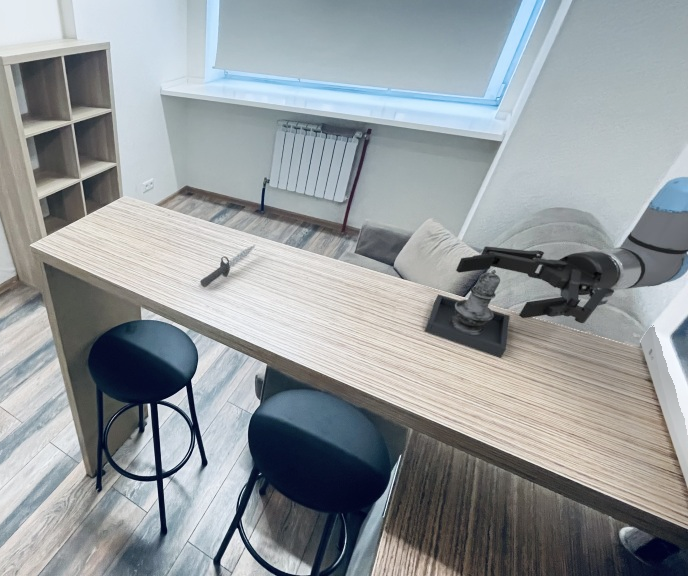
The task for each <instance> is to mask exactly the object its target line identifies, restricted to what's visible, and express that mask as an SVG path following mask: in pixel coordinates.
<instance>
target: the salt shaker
mask: <svg viewBox="0 0 688 576" xmlns="http://www.w3.org/2000/svg"><path fill="white" fill-rule="evenodd" d="M500 283H501V278H500V276H499V275H498V274H497V272H496V269H492V270H491V272H483V273H481V274H480V275H479V278H478V280H477V281H476V283H475V286H471V288H470V292H471V293H470V294H469V296H468V298H467V299H460V300H459V301H458V302H456V303H455V314H456V316H453V317H451V318H450V324H451V325H452V326H453V327H454V328H455V329H457V330H459V331H462V332H466V333H469V334H472V335H478V334H481V333H482V332H483V326H482V325H484V324H485V323H487V322H488V321H489V320H491V319H492V318H493V317H494V314H493V312H492V311H493V310H492V309H491V308H489V305H490V303H491V301H492V300H493V299H495V298H496V293H495V292H496V290H497V288H498V287H499V285H500ZM491 310H492V311H491Z"/></svg>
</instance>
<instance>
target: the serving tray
mask: <svg viewBox="0 0 688 576" xmlns="http://www.w3.org/2000/svg"><path fill="white" fill-rule="evenodd" d="M458 301H460V300H459V299H455V298H452V297H449V296H445V295H442V294H437V295H436V298H435V300H434V303H433V305H432V308H431V311H430V314H429V317H428V319H427V322H426V325H425V329H424V332H425V333H427V334H430V335H434V336H436V337H439V338H441V339H445V340H448V341H451V342H454V343H457V344H459V345H463V346H465V347H469V348H471V349H474V350H476V351H479V352H483V353H486V354H489V355H492V356H495V357H498V358H502V356H503V355H504V353H505V351H506V350H507V345H508V333H509V327H510V325H509V324H510V315H509V314H506V313H502V312H500V311H496V310H492V309H491V311H492V312H493V314H494V317H493V318H492V319H491V320H489V321H488V322H487V323H485V324H484V325H482V326H483V332H482V333H481V334H478V335H472V334H469V333H466V332H462V331H459V330H457V329H455V328H454V327H453V326H452V325H451V324H450V318H451V317H453V316H456V314H455V303H456V302H458Z"/></svg>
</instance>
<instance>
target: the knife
mask: <svg viewBox="0 0 688 576" xmlns="http://www.w3.org/2000/svg"><path fill="white" fill-rule="evenodd" d="M255 247H256V244H253V245H251V246H249V247H247V248H245V249H243V250H241V251H240V252H238V254H236V255H235V256H233V257H232V258H231V259H229V258H228V257H227V256H222V257H221V258H220V263H219V267H217V269H215V270H214V271H212V272H211V273H210V274H208V275H207V276H204V277H203V278H202V279H201V280H200V282H199V283H200V285H201V286H202V287H203V288H206V287H208V286H209V285H210V284H212V282H214V281H215V280H216V279H218V278H219V277H221V276H223V277H225V278H227V277H228V275H229V273H230V270H231V268H232V267H233V266H234V265H236V264H237V263H238V262H240V261H241V260H243V259H244V258H245V257H247V256H248V255H249V254H250V253H251V252H252V250H253V249H254V248H255ZM223 259H226V262H224V260H223Z"/></svg>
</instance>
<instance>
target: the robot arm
mask: <svg viewBox="0 0 688 576" xmlns="http://www.w3.org/2000/svg"><path fill="white" fill-rule="evenodd" d="M544 254H545V252H544V251H542V250H524V249H513V248H505V247H496V246H487V245H486V246H484V248H483V250H482V251H481V254H476V255H472V256H468V257H461V258H460V261H459V263H458V265H457V267H456V269H455V271H456V272H457V273H459V274H460V273H467V272H475V271H483V270H490V269H491V267H493V268H497V269H502V270H507V271H512V272H517V273H520V274H526V275H527V276H528V277H529V278H533V279H537V280H541V281H544V282H546V283H548V284H549V285H550V286H552V287H553V288H557V289H559V290H560V294H559V297H553V298H546V299H538V300H532V301H526V303H525V305H524V306H523V307H522V309H521V310H520V313H519V314H518V316H519V318H521V319H529V318H534V317H535V318H537V317H543V316H547V317H552V318H553V317H560V316H564V317H573V318H574V321H575V322H577V323H579V324H585V323H586V321H587V320H588V319H589V318H590V317H591V315H592V314H593V312H594V311H595V310H596V309H597V307H598V306H602V305H606V304H607V302H608V301H609V300H610V299H611V297H612V296H613V294H614V293H615V291H621V290H628V289H636V288H644V287H656V286H661V285H662V284H665V283H671V282H674V281H676V280H678V279H680V278H682V277H683V276H684V275H685V274H686V273H687V272H688V176H679V177H675V178H672V179H670V180H668V181H667V182H666V183H665V184H664V185H663V186H662V187H661V188H660V189H659V190H658V192H656V194H655V196H654V197H652V199H651V200H650V201H649V203H648V206H647V207H646V208H645V210H644V211H643V213H642V214H641V216H640V218H639V219H638V221H637V222H636V224H635V226H634V227H633V229H632V230H631V231H630V232H629V234H628V235H627V236H626V238H625V239H624V240H623V242H622V244H621V245H620V246H619V247H618V246H617V247H614V248H604V249H595V250H590V251H581V252H574V253H569V254H567V255H565V256H563V257H562V258H559V259H551V258H549V259H547V258H545V257H544ZM539 266H540V269H539V271H538V272H536V271H537V270H538V268H539ZM579 296H589V299H588V300H587V302H586V303H585V304H584V305H583V306H581V305H579V303H580V302H581V300H582V299H579Z"/></svg>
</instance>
